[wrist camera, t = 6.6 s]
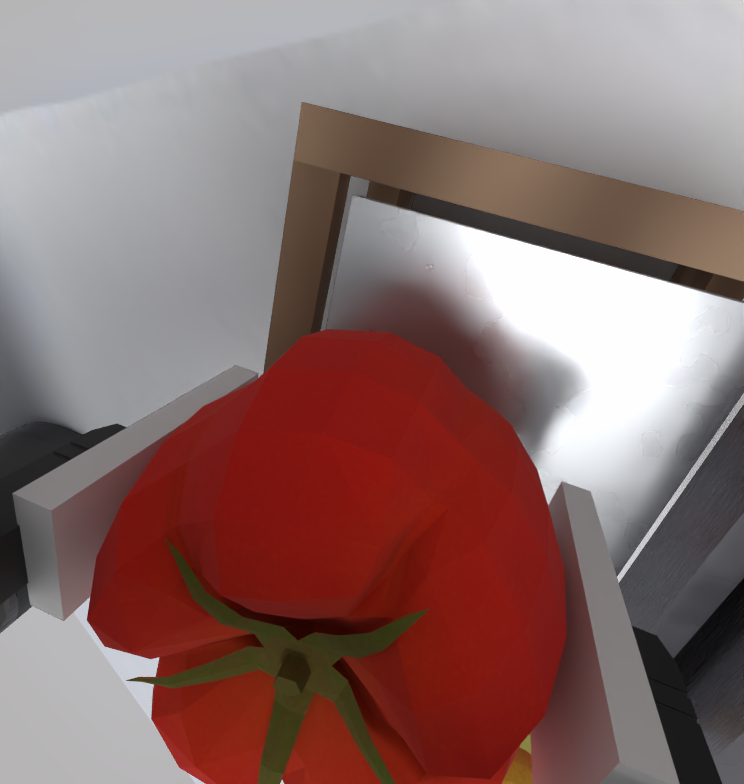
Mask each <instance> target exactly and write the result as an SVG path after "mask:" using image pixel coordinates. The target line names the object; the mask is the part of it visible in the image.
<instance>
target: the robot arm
mask: <svg viewBox="0 0 744 784" xmlns="http://www.w3.org/2000/svg"><path fill="white" fill-rule="evenodd" d="M257 379H258V373H256V372H253V371H250V370H248V369H245V368H242V367H239V366H236V365H235V366H233V367H231V368H230V369H228V370H226V371H224V372H223V373H221V374H219V375H218V376H216V377H214V378H212V379H211V380H209V381H207V382H205V383H204V384H202V385H200V386H198V387H197V388H195V389H193V390H191V391H190V392H188V393H186V394H184V395H183V396H181V397H179V398H178V399H176V400H174V401H172V402H171V403H169V404H167V405H165V406H164V407H162V408H160V409H158V410H157V411H155V412H153V413H151V414H150V415H148V416H146V417H144V418H143V419H141V420H139V421H137V422H136V423H134V424H132V425H131V426H129V427H124V426H122V425H119V424H114V425H110V426H106V427H102V428H99V429H95V430H91V431H90V432H88V433H86V434H84V435H82V436H80V435H78V434H76V433H74V432H72V431H70V430H68V429H66V428H63V427H61V426H58V425H54V424H49V423H30V424H26V425H23V426H21V427H19V428H17V429H14V430H12V431H10V432H8V433H6V434H3V435H1V436H0V633H1V632H2V631H3V630H5V629H6V628H7V627H8V626H9V625H10V624H12V623H13V622H14V621H15V620H16V619H18V618H19V617H20V616H21V615H22V614H23V613H25V612H26V611H27V610H28V609H29V608H31V607H32V606H33V607H36V608H38V609H40V610H42V611H44V612H46V613H48V614H50V615H52V616H54V617H56V618H58V619H60V620H62V621H64V620H65V619H66V618H67V617H68V616H70V615H71V614H72V613H73V612H74V611H75V610H76V609H77V608H78V607H79V606H80V605H81V604H83V603H84V602H85V601H86V600H87V599H88V598H89V597H90V596H91V590H92V583H93V576H94V570H95V563H96V557H97V555H98V553H99V551H100V548H101V546H102V544H103V542H104V540H105V538H106V536H107V533H108V531H109V529H110V527H111V525H112V523H113V521H114V519H115V516H116V514H117V512H118V510H119V508H120V506H121V504H122V502H123V500H124V499H125V497H126V496H127V494H128V493H129V491H130V490H131V489H132V487H133V486H134V484H135V483H136V481H137V480H138V478H139V477H140V475H141V474H142V473H143V471H144V470H145V468H146V467H147V465H148V464H149V462H150V461H151V460H152V458H153V457H154V455H155V454H156V452H157V451H158V449H159V448H160V446H161V445H162V444H163V442H164V441H165V440H166V439H168V438H169V437H170V436H171V435H172V434H173V433H174V432H175V431H176V430H177V429H179V428H180V427H181V426H182V425H183V424H184V423H185V422H186V421H187V420H188V419H189V418H191V417H192V416H193V415H194V414H195V413H196V412H197V411H198V410H199V409H200V408H202V407H203V406H204V405H206V404H209V403H211V402H213V401H215V400H217V399H219V398H221V397H223V396H225V395H227V394H229V393H231V392H234V391H236V390H238V389H240V388H242V387H244V386H246V385H248V384H250V383H252V382H254V381H255V380H257ZM548 507H549V511H550V514H551V518H552V522H553V526H554V530H555V534H556V538H557V541H558V545H559V549H560V553H561V557H562V561H563V565H564V568H565V591H566V631H567V638H566V642H565V645H564V649H563V653H562V656H561V660H560V664H559V667H558V671H557V674H556V678H555V682H554V685H553V689H552V693H551V696H550V700H549V704H548V707H547V711H546V715H545V717H544V718H543V719H542V720H541V721H540V722H539V724H538V725H537V726H536V727H535V728H534V729H533V730H532V732H531V733H530V736H531V757H532V778H533V784H722V781H721V779H720V776H719V774H718V771H717V768H716V766H715V763H714V760H713V758H712V755H711V752H710V750H709V747H708V744H707V742H706V739H705V737H704V734H703V731H702V729H701V726H700V724H698V723H697V715H696V713H695V710H694V708H693V705H692V702H691V700H690V699H689V698H688V697H687V694H688V692H687V689H686V686H685V684H684V681H683V678H682V676H681V673H680V671H679V668H678V665H677V663H676V662H675V660H674V659H673V658H672V656H671V655H670V653H669V652H668V650H667V649H666V648H665V646H664V645H663V643H662V642H661V641H660V639H659V638H658V636H657V635H654V634H652V633H649V632H647V631H644V630H641V629H639V628H636V627H634V626H631V622H630V619H629V616H628V612H627V609H626V606H625V602H624V599H623V596H622V593H621V589H620V586H619V583H618V579H617V576H616V573H615V570H614V566H613V563H612V560H611V556H610V553H609V550H608V547H607V543H606V540H605V537H604V533H603V530H602V527H601V523H600V520H599V517H598V514H597V510H596V507H595V504H594V500H593V497H592V494H591V491H588V490H585V489H583V488H580V487H577V486H574V485H571V484H569V483H566V482H563V481H561V483H560V485H559V487H558V489H557V490H556V492H555V494H554V496H553V498H552V500H551V502H550V503H549V505H548Z"/></svg>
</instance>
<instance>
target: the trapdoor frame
mask: <svg viewBox="0 0 744 784" xmlns="http://www.w3.org/2000/svg"><path fill="white" fill-rule="evenodd" d="M350 176H354V177H358V178H362V179H365V180H369V181H370V183H369V187H368V192H367V198H370V199H374V200H378V201H381V202H385V203H388V204H392V205H396V206H399V207H403V208H406V209H410V210H411V206H412V202H413V199H414V195H415V193H417V194H421V195H425V196H429V197H432V198H436V199H440V200H443V201H447V202H451V203H454V204H458V205H462V206H466V207H469V208H473V209H477V210H480V211H484V212H488V213H492V214H495V215H499V216H503V217H506V218H510V219H514V220H518V221H521V222H525V223H529V224H532V225H536V226H540V227H544V228H547V229H551V230H555V231H558V232H562V233H566V234H569V235H573V236H577V237H581V238H584V239H588V240H592V241H595V242H599V243H603V244H607V245H610V246H614V247H618V248H621V249H625V250H629V251H633V252H636V253H640V254H644V255H647V256H651V257H655V258H658V259H662V260H666V261H670V262H673V263H677V264H679V266H678V268H677V270H676V272H675V274H674V275H673V277H672V279H671V282H675V283H678V284H682V285H686V286H689V287H693V288H696V289H700V290H704V291H707V292H711V293H715V294H718V295H722V296H725V297H729V298H733V299H736V300H740V301H742V299H743V298H744V211H741V210H736V209H732V208H728V207H724V206H720V205H716V204H712V203H708V202H704V201H700V200H696V199H692V198H688V197H684V196H680V195H676V194H672V193H668V192H664V191H660V190H656V189H652V188H648V187H644V186H640V185H636V184H631V183H627V182H623V181H619V180H615V179H611V178H607V177H603V176H599V175H595V174H591V173H587V172H583V171H579V170H575V169H571V168H567V167H563V166H559V165H555V164H551V163H547V162H543V161H539V160H535V159H531V158H526V157H522V156H518V155H514V154H510V153H506V152H502V151H498V150H494V149H490V148H486V147H482V146H478V145H474V144H470V143H466V142H462V141H458V140H454V139H450V138H446V137H442V136H438V135H434V134H430V133H426V132H421V131H417V130H413V129H409V128H405V127H401V126H397V125H393V124H389V123H385V122H381V121H377V120H373V119H369V118H365V117H361V116H357V115H353V114H349V113H345V112H341V111H337V110H333V109H329V108H325V107H321V106H316V105H312V104H308V103H304V102H302V105H301V112H300V119H299V126H298V133H297V140H296V147H295V154H294V161H293V169H292V176H291V183H290V190H289V197H288V204H287V211H286V218H285V225H284V232H283V239H282V246H281V253H280V260H279V267H278V274H277V281H276V288H275V295H274V302H273V309H272V316H271V324H270V331H269V338H268V345H267V352H266V359H265V366H264V372H266V371H267V370H268V369H269V368H270V367H271V366H272V365H273V364H274V363H275V362H276V361H277V360H278V359H279V358H280V357H281V356H282V355H283V354H284V353H285V352H286V351H288V350H289V349H290V348H291V347H292V346H293V345H294V344H295V343H296V342H297V341H298V340H299V339H300V338H301V337H302V336H306V335H309V334H313V333H316V332H320V330H321V325H322V320H323V314H324V309H325V304H326V299H327V294H328V289H329V284H330V279H331V274H332V268H333V263H334V258H335V253H336V248H337V243H338V238H339V233H340V228H341V222H342V217H343V212H344V207H345V202H346V197H347V192H348V187H349V182H350Z"/></svg>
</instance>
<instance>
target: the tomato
mask: <svg viewBox="0 0 744 784" xmlns="http://www.w3.org/2000/svg"><path fill="white" fill-rule="evenodd" d="M87 621H88V622H89V624H90V625H91V627H92V628H93V630H94V631H95V633H96V634H97V636H98V637H99V639H100V640H101V642H102V643H103V645H104V646H105V647H109V648H112V649H116V650H120V651H123V652H127V653H130V654H134V655H138V656H141V657H145V658H149V659H153V658H157V657H160V658H159V663H158V668H157V673H156V677H137V678H134V679H130V680H126V681H139V682H146V683H150V684H154V688H153V699H152V717H151V719H152V721H153V722H154V724H155V726H156V728H157V729H158V731H159V733H160V735H161V736H162V738H163V740H164V742H165V743H166V745H167V747H168V749H169V750H170V752H171V754H172V755H173V757H174V759H175V761H176V763H177V764H178V766H179V767H180V768H181V769H183V770H185V771H186V772H187V773H189V774H191V775H192V776H194V777H196V778H197V779H199V780H201V781H202V782H204V783H206V784H280V782H281V780H283V782H284V784H502V782H503V780H504V778H505V776H506V774H507V772H508V770H509V768H510V765H511V763H512V761H513V759H514V757H515V755H516V753H517V751H518V749H519V747H520V745H521V743H522V742H523V741H524V740H525V739H526V737H527V736H528V735H529V734H530V733H531V732H532V730H533V729H534V728H535V727H536V726H537V725H538V724H539V722H540V721H541V720H542V719H543V718H544V717H545V715H546V711H547V707H548V704H549V700H550V696H551V693H552V689H553V685H554V682H555V678H556V674H557V671H558V667H559V664H560V660H561V656H562V653H563V649H564V645H565V642H566V638H567V631H566V591H565V568H564V565H563V561H562V557H561V553H560V549H559V545H558V541H557V538H556V534H555V530H554V526H553V522H552V518H551V514H550V511H549V507H548V503H547V500H546V497H545V493H544V490H543V487H542V484H541V480H540V477H539V474H538V470H537V468H536V466H535V465H534V463H533V461H532V460H531V458H530V456H529V454H528V453H527V451H526V449H525V448H524V446H523V444H522V442H521V441H520V439H519V437H518V436H517V434H516V432H515V430H514V429H513V427H512V425H511V424H510V423H509V422H508V421H507V420H506V419H505V418H504V417H503V416H502V415H501V414H500V413H499V412H497V411H496V410H495V409H494V408H492V407H491V406H490V405H489V404H487V403H486V402H485V401H484V400H482V399H481V398H480V397H479V396H477V395H476V394H474V393H473V392H471V391H470V390H468V389H467V388H466V387H465V386H464V385H463V384H462V383H461V381H460V380H459V379H458V378H457V377H456V376H455V374H454V373H453V372H452V371H451V370H450V369H449V367H448V366H447V365H446V364H445V363H444V362H443V360H442V359H441V358H440V357H439V356H437V355H435V354H433V353H430V352H428V351H426V350H424V349H422V348H420V347H418V346H416V345H414V344H412V343H410V342H408V341H406V340H404V339H402V338H401V337H399V336H397V335H395V334H393V333H389V332H371V331H353V330H335V329H326V330H323V331H320V332H316V333H313V334H309V335H306V336H302V337H301V338H300V339H299V340H298V341H297V342H296V343H295V344H294V345H293V346H292V347H291V348H290V349H289V350H288V351H286V352H285V353H284V354H283V355H282V356H281V357H280V358H279V359H278V360H277V361H276V362H275V363H274V364H273V365H272V366H271V367H270V368H269V369H268V370H267V371H266V372H264V373H263V374H262V375H261V376H260V377H259V378H258V379H257V380H255V381H254V382H252V383H250V384H248V385H246V386H244V387H242V388H240V389H238V390H236V391H234V392H231V393H229V394H227V395H225V396H223V397H221V398H219V399H217V400H215V401H213V402H211V403H209V404H206V405H204V406H203V407H202V408H200V409H199V410H198V411H197V412H196V413H195V414H194V415H193V416H192V417H191V418H189V419H188V420H187V421H186V422H185V423H184V424H183V425H182V426H181V427H180V428H179V429H177V430H176V431H175V432H174V433H173V434H172V435H171V436H170V437H169V438H168V439H166V440H165V441H164V442H163V444H162V445H161V446H160V448H159V449H158V451H157V452H156V454H155V455H154V457H153V458H152V460H151V461H150V462H149V464H148V465H147V467H146V468H145V470H144V471H143V473H142V474H141V475H140V477H139V478H138V480H137V481H136V483H135V484H134V486H133V487H132V489H131V490H130V491H129V493H128V494H127V496H126V497H125V499H124V500H123V502H122V504H121V506H120V508H119V510H118V512H117V514H116V516H115V519H114V521H113V523H112V525H111V527H110V529H109V531H108V533H107V536H106V538H105V540H104V542H103V544H102V546H101V548H100V551H99V553H98V555H97V557H96V563H95V570H94V576H93V583H92V590H91V596H90V603H89V610H88V617H87Z"/></svg>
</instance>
